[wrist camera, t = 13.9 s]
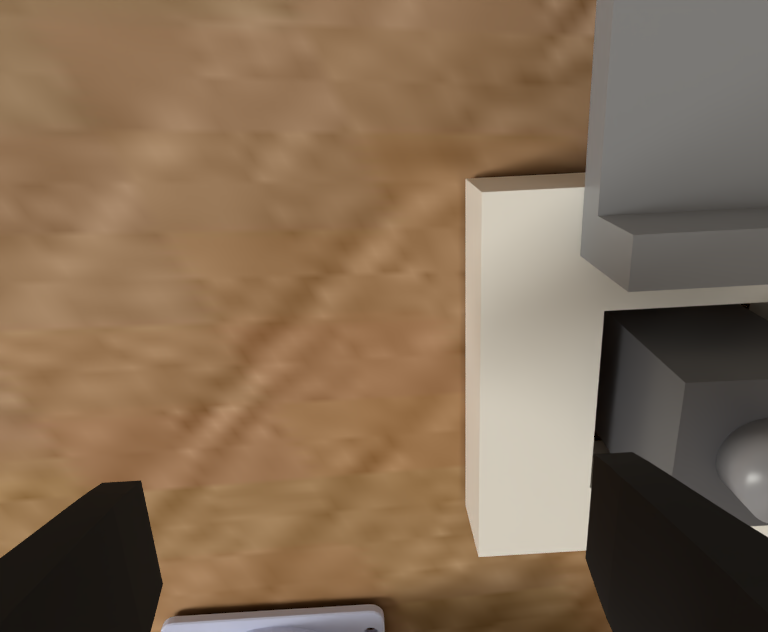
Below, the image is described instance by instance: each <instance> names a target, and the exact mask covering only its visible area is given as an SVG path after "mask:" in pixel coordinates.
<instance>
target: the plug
mask: <svg viewBox="0 0 768 632" xmlns="http://www.w3.org/2000/svg"><path fill="white" fill-rule="evenodd" d="M595 431H596V433H597V434H598V435H599V437H600V438H601V440H602V441H603V443H604V444H605V446H606V447H607V449H608V450H609V451H610V453H622V452H633V453H635V454H637V455H638V456H640V457H642V458H644V459H645V460H647V461H649V462H650V463H652V464H654V465H655V466H657V467H658V468H660V469H661V470H663V471H665V472H666V473H668V474H669V475H671V476H672V477H674V478H675V479H677V480H679V481H680V482H682V483H683V484H685V485H686V486H688V487H689V488H691V489H692V490H694V491H695V492H697V493H699V494H700V495H702V496H703V497H705V498H706V499H708V500H709V501H711V502H712V503H714V504H716V505H717V506H719V507H720V508H722V509H723V510H725V511H727V512H728V513H730V514H731V515H733V516H735V517H736V518H738V519H739V520H741V521H742V522H744V523H746V524H747V525H749V526H767V525H768V320H766V319H764V318H763V317H761V316H759V315H757V314H755V313H754V312H752V311H750V310H748V309H747V308H745V307H743V306H741V305H740V304H723V305H705V306H686V307H668V308H650V309H631V310H613V311H604V321H603V333H602V345H601V358H600V370H599V382H598V395H597V407H596V419H595Z"/></svg>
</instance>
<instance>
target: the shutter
mask: <svg viewBox="0 0 768 632" xmlns="http://www.w3.org/2000/svg"><path fill="white" fill-rule="evenodd" d="M580 256H581V257H582V258H584V259H585V260H586V261H588V262H589V263H590V264H592V265H593V266H594V267H596V268H597V269H598V270H600V271H601V272H602V273H604V274H605V275H606V276H608V277H609V278H610V279H612V280H613V281H614V282H616V283H617V284H618V285H620V286H621V287H622V288H623V289H625V290H626V291H627V292H638V291H657V290H675V289H694V288H712V287H731V286H749V285H768V0H597V5H596V20H595V36H594V51H593V67H592V82H591V97H590V113H589V128H588V144H587V159H586V174H585V190H584V205H583V220H582V236H581V251H580Z"/></svg>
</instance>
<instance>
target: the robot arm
mask: <svg viewBox="0 0 768 632" xmlns="http://www.w3.org/2000/svg"><path fill="white" fill-rule="evenodd" d="M586 561H587V564H588V567H589V570H590V573H591V576H592V579H593V581H594V584H595V587H596V590H597V593H598V596H599V599H600V602H601V604H602V607H603V610H604V613H605V615H606V618H607V620H608V622H609V624H610V627H611V629H612V631H613V632H768V537H767V536H765V535H764V534H762V533H760V532H759V531H757V530H755V529H754V528H752V527H751V526H749V525H747V524H746V523H744V522H742V521H741V520H739V519H738V518H736V517H735V516H733V515H731V514H730V513H728V512H727V511H725V510H723V509H722V508H720V507H719V506H717V505H716V504H714V503H712V502H711V501H709V500H708V499H706V498H705V497H703V496H702V495H700V494H699V493H697V492H695V491H694V490H692V489H691V488H689V487H688V486H686V485H685V484H683V483H682V482H680V481H679V480H677V479H675V478H674V477H672V476H671V475H669V474H668V473H666V472H665V471H663V470H661V469H660V468H658V467H657V466H655V465H654V464H652V463H650V462H649V461H647V460H645V459H644V458H642V457H640V456H638V455H637V454H635V453H633V452H622V453H605V454H594V462H593V474H592V486H591V498H590V510H589V522H588V535H587V547H586ZM162 585H163V583H162V578H161V573H160V569H159V564H158V559H157V554H156V550H155V545H154V540H153V535H152V531H151V526H150V521H149V516H148V512H147V507H146V502H145V497H144V493H143V488H142V483H141V481H127V482H110V483H101V484H100V485H98V486H97V487H95V488H94V489H92V490H91V491H89V492H88V493H87V494H85V495H84V496H82V497H81V498H80V499H78V500H77V501H75V502H74V503H73V504H71V505H70V506H69V507H67V508H66V509H65V510H63V511H62V512H61V513H60V514H58V515H57V516H56V517H54V518H53V519H52V520H50V521H49V522H48V523H46V524H45V525H44V526H42V527H41V528H40V529H39V530H37V531H36V532H35V533H33V534H32V535H31V536H29V537H28V538H27V539H25V540H24V541H23V542H21V543H20V544H19V545H17V546H16V547H15V548H13V549H12V550H11V551H9V552H8V553H7V554H5V555H4V556H3V557H1V558H0V632H150V631H151V628H152V624H153V620H154V617H155V613H156V609H157V605H158V601H159V597H160V593H161V589H162ZM367 628H375V629H373V630H368V629H367ZM161 632H385V626H384V613H383V610H382V609H381V608H380V607H379V606H377V605H372V604H365V605H349V606H333V607H317V608H301V609H285V610H269V611H252V612H236V613H220V614H204V615H188V616H174V617H170V618H168V619H167V620H166V621H165V622H164V624H163V627H162V629H161Z"/></svg>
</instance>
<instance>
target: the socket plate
mask: <svg viewBox="0 0 768 632" xmlns="http://www.w3.org/2000/svg"><path fill="white" fill-rule="evenodd" d="M585 174H586V173H566V174H547V175H527V176H507V177H487V178H467V179H466V509H467V513H468V517H469V521H470V525H471V529H472V533H473V537H474V541H475V545H476V549H477V553H478V557H486V556H503V555H519V554H535V553H552V552H568V551H585V550H586V547H587V535H588V522H589V510H590V498H591V486H592V474H593V462H594V454H605V453H610V451H609V450H608V449H607V447H606V446H605V444H604V443H603V441H602V440H600V441H594V432H595V419H596V407H597V395H598V382H599V370H600V358H601V345H602V333H603V321H604V311H613V310H631V309H650V308H668V307H686V306H705V305H723V304H742V303H750V307H749V310H750V311H752V312H754V313H755V314H757V315H759V316H761V317H763V318H764V319H766V320H768V285H749V286H731V287H712V288H694V289H675V290H657V291H638V292H627V291H626V290H625V289H623V288H622V287H621V286H620V285H618V284H617V283H616V282H614V281H613V280H612V279H610V278H609V277H608V276H606V275H605V274H604V273H602V272H601V271H600V270H598V269H597V268H596V267H594V266H593V265H592V264H590V263H589V262H588V261H586V260H585V259H584V258H582V257H581V256H580V251H581V236H582V220H583V205H584V190H585ZM751 527H752V528H754V529H755V530H757V531H759V532H760V533H762V534H764V535H765V536H767V537H768V525H767V526H751Z"/></svg>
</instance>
